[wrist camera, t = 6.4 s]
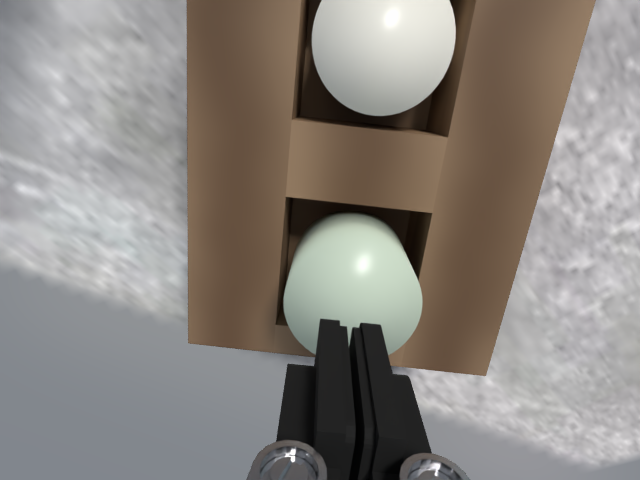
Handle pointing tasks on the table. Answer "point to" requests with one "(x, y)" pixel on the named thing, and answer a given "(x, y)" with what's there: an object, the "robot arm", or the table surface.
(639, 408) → the table surface
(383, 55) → the ivory button
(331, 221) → the sage button
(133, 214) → the table surface
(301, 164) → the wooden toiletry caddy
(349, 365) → the robot arm
